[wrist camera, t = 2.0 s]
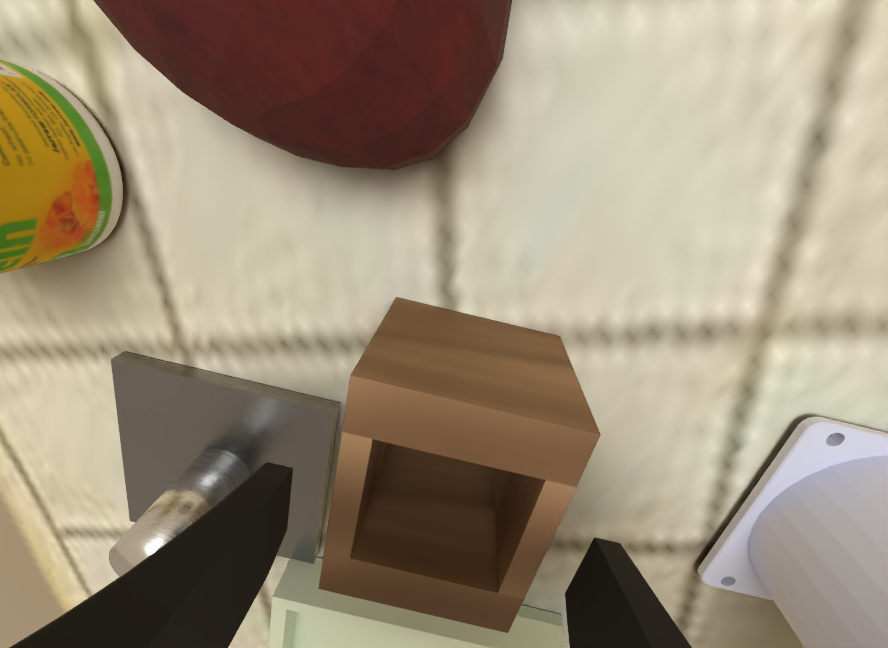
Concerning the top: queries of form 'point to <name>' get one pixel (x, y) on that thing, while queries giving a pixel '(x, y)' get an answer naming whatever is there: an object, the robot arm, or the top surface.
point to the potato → (328, 69)
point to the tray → (386, 621)
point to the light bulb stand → (214, 451)
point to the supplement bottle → (51, 172)
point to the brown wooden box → (454, 465)
